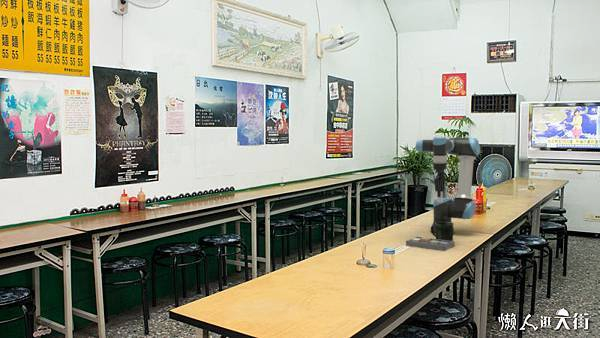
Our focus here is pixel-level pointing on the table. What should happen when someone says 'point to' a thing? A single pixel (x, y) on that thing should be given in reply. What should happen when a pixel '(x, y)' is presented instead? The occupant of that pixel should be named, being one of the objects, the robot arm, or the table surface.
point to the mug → (443, 230)
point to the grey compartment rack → (429, 245)
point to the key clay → (425, 239)
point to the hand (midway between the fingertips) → (439, 202)
